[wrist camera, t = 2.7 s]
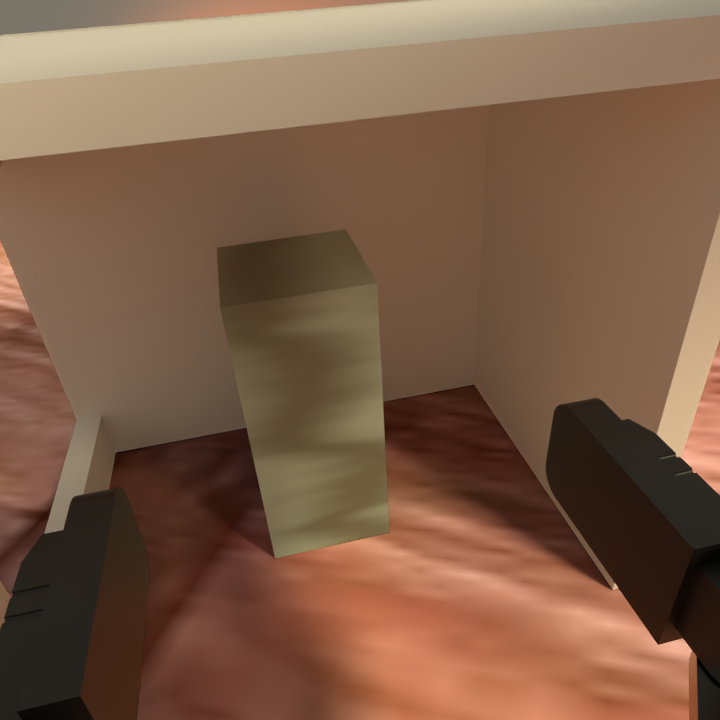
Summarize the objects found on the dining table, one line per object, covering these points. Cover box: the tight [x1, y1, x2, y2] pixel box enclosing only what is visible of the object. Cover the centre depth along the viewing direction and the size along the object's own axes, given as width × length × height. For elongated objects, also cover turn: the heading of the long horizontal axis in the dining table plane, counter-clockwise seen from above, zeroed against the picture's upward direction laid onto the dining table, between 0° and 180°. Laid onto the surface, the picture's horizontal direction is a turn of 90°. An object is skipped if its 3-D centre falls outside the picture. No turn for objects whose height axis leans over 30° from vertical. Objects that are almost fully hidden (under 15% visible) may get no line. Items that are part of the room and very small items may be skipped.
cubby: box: [0, 0, 720, 629], centre depth 22 cm, size 22×15×19 cm
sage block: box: [217, 229, 390, 558], centre depth 24 cm, size 5×5×12 cm
